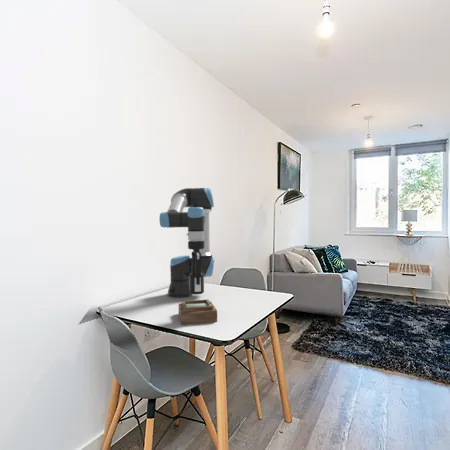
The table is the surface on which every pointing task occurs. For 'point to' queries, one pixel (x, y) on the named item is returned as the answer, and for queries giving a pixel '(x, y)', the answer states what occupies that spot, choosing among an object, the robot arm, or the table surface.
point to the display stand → (197, 312)
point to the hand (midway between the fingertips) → (196, 289)
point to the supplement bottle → (192, 282)
